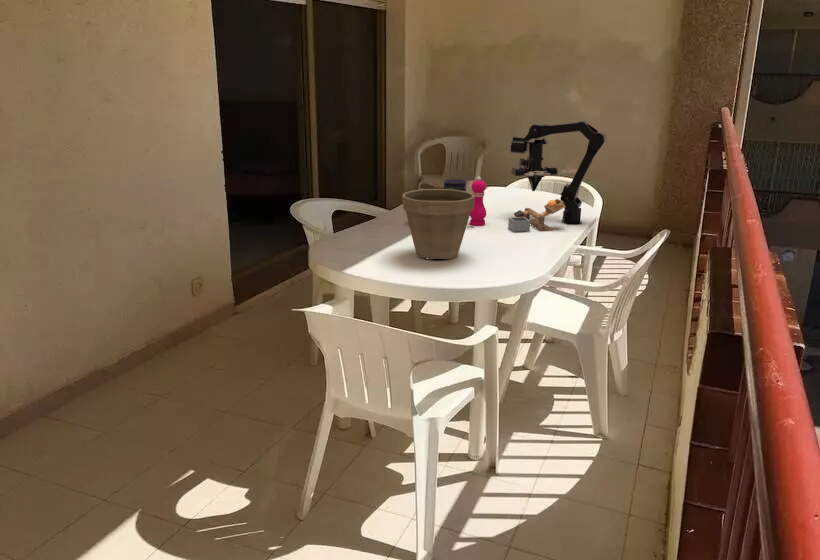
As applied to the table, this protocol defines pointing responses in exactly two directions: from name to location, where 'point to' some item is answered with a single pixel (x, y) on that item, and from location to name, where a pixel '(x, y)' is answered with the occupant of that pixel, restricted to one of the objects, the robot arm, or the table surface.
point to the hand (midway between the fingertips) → (533, 191)
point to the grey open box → (519, 224)
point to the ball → (551, 203)
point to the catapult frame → (538, 223)
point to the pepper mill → (478, 203)
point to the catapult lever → (548, 211)
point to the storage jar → (455, 184)
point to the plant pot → (437, 220)
